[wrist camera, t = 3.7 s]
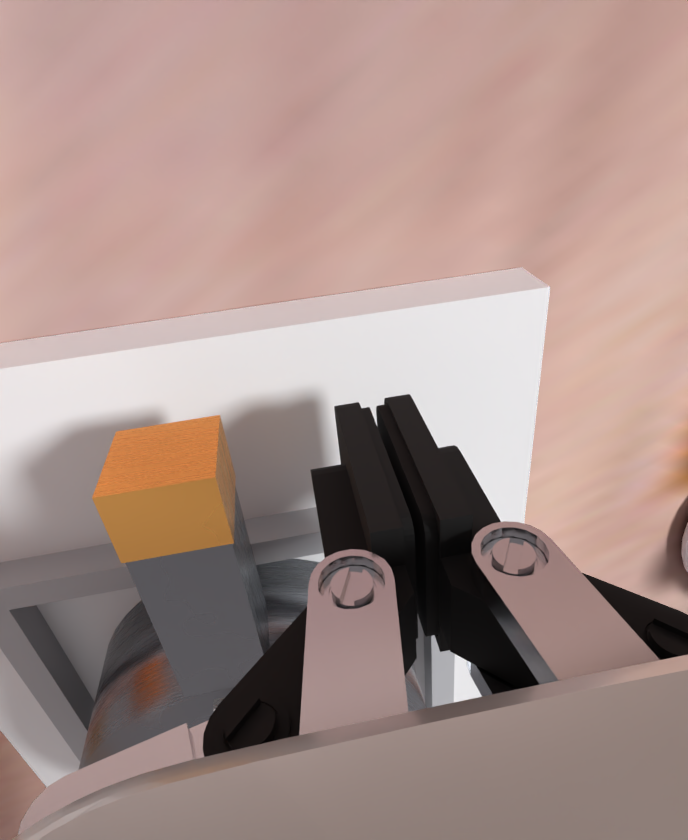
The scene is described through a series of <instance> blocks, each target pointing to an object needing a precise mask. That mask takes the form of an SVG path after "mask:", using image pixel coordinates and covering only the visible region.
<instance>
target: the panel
mask: <svg viewBox="0 0 688 840" xmlns="http://www.w3.org/2000/svg"><path fill="white" fill-rule="evenodd" d="M549 294H550V286H548V285H547V284H545V283H544V282H542V281H541V280H540V279H538V278H537V277H535V276H534V275H532V274H531V273H529V272H528V271H526V270H525V269H524V268H522V267H520V268H513V269H506V270H500V271H493V272H486V273H479V274H472V275H465V276H458V277H451V278H445V279H438V280H431V281H424V282H417V283H410V284H403V285H397V286H390V287H383V288H376V289H369V290H362V291H355V292H348V293H342V294H335V295H328V296H321V297H314V298H307V299H300V300H293V301H287V302H280V303H273V304H266V305H259V306H252V307H245V308H239V309H232V310H225V311H218V312H211V313H204V314H197V315H190V316H184V317H177V318H170V319H163V320H156V321H149V322H142V323H135V324H129V325H122V326H115V327H108V328H101V329H94V330H87V331H81V332H74V333H67V334H60V335H53V336H46V337H39V338H32V339H26V340H19V341H12V342H5V343H0V730H1V732H2V733H3V734H4V735H5V737H6V738H7V739H8V740H9V741H10V743H11V744H12V745H13V746H14V748H15V749H16V750H17V751H18V753H19V754H20V755H21V756H22V758H23V759H24V760H25V761H26V763H27V764H28V765H29V766H30V767H31V769H32V770H33V771H34V772H35V774H36V775H37V776H38V777H39V779H40V780H41V781H42V782H43V784H44V785H45V786H46V787H48V786H49V785H51V784H53V783H54V782H56V781H57V780H59V779H61V778H62V777H64V776H66V775H68V774H70V773H73V772H75V771H77V770H79V765H80V761H81V757H82V753H83V749H84V745H85V740H86V736H87V732H88V728H89V724H90V719H91V715H92V711H93V707H94V703H95V699H96V694H97V690H98V686H99V682H100V678H101V674H102V669H103V665H104V661H105V657H106V653H107V649H108V645H109V642H110V639H111V637H112V635H113V633H114V631H115V629H116V628H117V626H118V625H119V623H120V622H121V621H122V619H123V618H124V617H125V615H126V614H127V613H128V612H129V611H130V610H131V609H132V608H133V607H134V606H135V605H136V604H137V603H139V602H140V601H141V600H142V599H141V597H140V595H139V593H138V590H137V588H136V586H135V584H134V581H133V579H132V577H131V575H130V572H129V570H128V568H127V566H126V563H121V562H120V560H119V557H118V555H117V553H116V551H115V548H114V546H113V544H112V542H111V539H110V537H109V535H108V533H107V531H106V528H105V526H104V524H103V522H102V519H101V517H100V515H99V513H98V511H97V508H96V506H95V504H94V502H93V499H92V497H93V494H94V491H95V488H96V485H97V483H98V480H99V477H100V474H101V472H102V469H103V466H104V463H105V461H106V458H107V455H108V452H109V450H110V447H111V444H112V441H113V438H114V436H115V433H116V431H122V430H128V429H135V428H141V427H147V426H153V425H160V424H166V423H172V422H178V421H185V420H191V419H197V418H203V417H210V416H216V415H220V417H221V421H222V425H223V429H224V433H225V437H226V440H227V444H228V448H229V452H230V456H231V460H232V464H233V468H234V472H235V476H236V479H235V486H236V490H237V494H238V498H239V502H240V505H241V509H242V513H243V517H244V521H245V525H246V528H247V532H248V536H249V540H250V544H251V548H252V552H253V555H254V559H255V563H256V565H259V564H265V563H270V562H276V561H281V560H287V559H292V558H293V559H303V560H309V561H315V562H321V561H322V560H323V559H325V557H324V551H323V545H322V539H321V533H320V527H319V521H318V515H317V509H316V502H315V496H314V490H313V484H312V477H311V471H310V470H311V469H317V468H322V467H328V466H334V465H340V464H341V461H340V453H339V444H338V436H337V428H336V420H335V411H334V406H338V405H344V404H350V403H356V402H359V404H360V406H361V408H366V407H370V409H371V412H372V415H373V417H374V420H375V422H376V425H377V416H376V406H379V405H384V399H385V398H388V397H394V396H400V395H406V394H410V395H411V397H412V399H413V401H414V402H415V404H416V406H417V408H418V410H419V412H420V414H421V416H422V418H423V420H424V422H425V424H426V425H427V427H428V429H429V431H430V433H431V435H432V437H433V439H434V441H435V443H436V445H437V446H438V448H441V447H446V446H452V445H455V446H457V447H458V449H459V450H460V451H461V453H462V455H463V457H464V458H465V460H466V462H467V464H468V465H469V467H470V469H471V470H472V472H473V474H474V476H475V477H476V479H477V481H478V483H479V484H480V486H481V488H482V490H483V491H484V493H485V495H486V496H487V498H488V500H489V502H490V503H491V505H492V507H493V509H494V510H495V512H496V514H497V516H498V517H499V519H500V521H501V522H503V521H508V522H519V523H523V524H524V519H525V510H526V501H527V492H528V483H529V474H530V465H531V456H532V447H533V438H534V429H535V420H536V411H537V402H538V393H539V384H540V375H541V366H542V357H543V348H544V339H545V330H546V321H547V312H548V303H549ZM417 615H418V613H417ZM416 653H417V659H416V660H415V662H414V663H413V664H414V667H415V671H416V674H417V677H418V681H419V684H420V688H421V691H422V695H423V698H424V702H425V705H426V708H430V707H435V706H440V705H444V704H449V703H454V702H459V701H464V700H468V699H473V698H478V697H482V695H481V694H480V692H479V690H478V688H477V686H476V685H475V683H474V681H473V679H472V677H471V676H470V673H469V670H468V668H467V660H465V659H463V658H461V657H460V656H458V655H456V654H454V653H452V652H450V650H448V651H443V652H440V650H439V647H438V644H437V641H436V638H435V635H433V636H428V637H426V636H425V634H424V632H423V629H422V626H421V623H420V620H419V616H418V639H416Z"/></svg>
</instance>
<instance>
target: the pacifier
mask: <svg viewBox="0 0 688 840" xmlns="http://www.w3.org/2000/svg"><path fill="white" fill-rule="evenodd" d="M681 555H682V559H683V564H684V567H685V569H686V571H687V572H688V522H687V525H686V529H685V532H684V535H683V538H682V550H681Z"/></svg>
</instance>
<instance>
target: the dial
mask: <svg viewBox="0 0 688 840" xmlns="http://www.w3.org/2000/svg"><path fill="white" fill-rule="evenodd" d="M235 479H236V476H235V472H234V468H233V464H232V460H231V456H230V452H229V448H228V444H227V440H226V437H225V433H224V429H223V425H222V421H221V417H220V415H216V416H210V417H203V418H197V419H191V420H185V421H178V422H172V423H166V424H160V425H153V426H147V427H141V428H135V429H128V430H122V431H116V433H115V436H114V438H113V441H112V444H111V447H110V450H109V452H108V455H107V458H106V461H105V463H104V466H103V469H102V472H101V474H100V477H99V480H98V483H97V485H96V488H95V491H94V494H93V497H92V499H93V502H94V504H95V506H96V508H97V511H98V513H99V515H100V517H101V519H102V522H103V524H104V526H105V528H106V531H107V533H108V535H109V537H110V539H111V542H112V544H113V546H114V548H115V551H116V553H117V555H118V557H119V560H120V562H121V563H126V566H127V568H128V570H129V572H130V575H131V577H132V579H133V581H134V584H135V586H136V588H137V590H138V593H139V595H140V597H141V599H142V600H141V601H140V602H139V603H137V604H136V605H135V606H134V607H133V608H132V609H131V610H130V611H129V612H128V613H127V614H126V615H125V617H124V618H123V619H122V621H121V622H120V623H119V625H118V626H117V628H116V629H115V631H114V633H113V635H112V637H111V639H110V642H109V645H108V649H107V653H106V657H105V661H104V665H103V669H102V674H101V678H100V682H99V686H98V690H97V694H96V699H95V703H94V707H93V711H92V715H91V719H90V724H89V728H88V732H87V736H86V740H85V745H84V749H83V753H82V757H81V761H80V765H79V769H82V768H84V767H86V766H89V765H91V764H93V763H95V762H98V761H100V760H102V759H105V758H107V757H109V756H112V755H114V754H116V753H118V752H121V751H123V750H125V749H128V748H130V747H132V746H134V745H137V744H139V743H141V742H144V741H146V740H148V739H151V738H153V737H155V736H157V735H160V734H162V733H164V732H167V731H169V730H171V729H173V728H176V727H178V726H180V725H183V724H185V723H187V725H188V727H189V729H190V728H192V727H194V726H197V725H199V724H201V723H203V722H206V721H208V720H209V718H210V716H211V715H212V713H213V712H214V711H215V709H216V708H217V706H218V705H219V704H220V703H221V701H222V700H223V699H224V698H225V697H226V696H227V695H228V694H229V693H230V691H231V690H232V689H233V688H234V687H235V686H236V685H237V684H238V683H239V681H240V680H241V679H242V678H243V677H244V676H245V675H246V674H247V672H248V671H249V670H250V669H251V668H252V667H253V666H254V665H255V664H256V662H257V661H258V660H259V659H260V658H261V657H262V656H263V655H264V654H265V652H266V651H267V650H268V649H269V648H270V647H271V646H272V645H273V644H274V642H275V641H276V640H277V639H278V638H279V637H280V636H281V635H282V634H283V632H284V631H285V630H286V629H287V628H288V627H289V626H290V625H291V624H292V622H293V621H294V620H295V619H296V618H297V617H298V616H299V615H300V614H301V612H302V611H303V610H304V609H305V608H306V607H307V602H308V586H309V581H310V577H311V573H312V572H313V570H314V569H315V567H316V566H317V564H318V563H320V562H315V561H309V560H303V559H293V558H292V559H287V560H281V561H276V562H270V563H265V564H259V565H256V563H255V559H254V555H253V552H252V548H251V544H250V540H249V536H248V532H247V528H246V525H245V521H244V517H243V513H242V509H241V505H240V502H239V498H238V494H237V490H236V486H235ZM405 684H406V694H407V703H408V712H411V711H416V710H421V709H425V708H426V705H425V702H424V698H423V695H422V691H421V688H420V684H419V681H418V677H417V674H416V671H415V667H414V664H413V665H412V666H411V668H410V669H409V671H408V672H407V674H406V675H405Z"/></svg>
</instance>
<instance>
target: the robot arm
mask: <svg viewBox="0 0 688 840" xmlns="http://www.w3.org/2000/svg"><path fill="white" fill-rule="evenodd" d="M334 411H335V420H336V428H337V436H338V444H339V453H340V461H341V464H340V465H334V466H328V467H322V468H317V469H311V470H310V471H311V477H312V484H313V490H314V496H315V502H316V509H317V515H318V521H319V527H320V533H321V539H322V545H323V551H324V557H325V559H323V560H322V561H321V562H320V563H318V564H317V566H316V567H315V569H314V570H313V572H312V573H311V577H310V581H309V586H308V602H307V607H306V608H305V609H304V610H303V611H302V612H301V614H300V615H299V616H298V617H297V618H296V619H295V620H294V621H293V622H292V624H291V625H290V626H289V627H288V628H287V629H286V630H285V631H284V632H283V634H282V635H281V636H280V637H279V638H278V639H277V640H276V641H275V642H274V644H273V645H272V646H271V647H270V648H269V649H268V650H267V651H266V652H265V654H264V655H263V656H262V657H261V658H260V659H259V660H258V661H257V662H256V664H255V665H254V666H253V667H252V668H251V669H250V670H249V671H248V672H247V674H246V675H245V676H244V677H243V678H242V679H241V680H240V681H239V683H238V684H237V685H236V686H235V687H234V688H233V689H232V690H231V691H230V693H229V694H228V695H227V696H226V697H225V698H224V699H223V700H222V701H221V703H220V704H219V705H218V706H217V708H216V709H215V711H214V712H213V713H212V715H211V716H210V718H209V720H208V721H206V722H203V723H201V724H199V725H197V726H194V727H192V728H190V729H189V727H188V725H187V723H185V724H183V725H180V726H178V727H176V728H173V729H171V730H169V731H167V732H164V733H162V734H160V735H157V736H155V737H153V738H151V739H148V740H146V741H144V742H141V743H139V744H137V745H134V746H132V747H130V748H128V749H125V750H123V751H121V752H118V753H116V754H114V755H112V756H109V757H107V758H105V759H102V760H100V761H98V762H95V763H93V764H91V765H89V766H86V767H84V768H82V769H79V770H77V771H75V772H73V773H70V774H68V775H66V776H64V777H62V778H61V779H59V780H57V781H56V782H54V783H53V784H51V785H49V786H48V787H47V788H46V789H45V790H44V791H43V792H42V793H41V794H40V795H39V796H38V797H37V798H36V799H35V800H34V801H33V802H32V804H31V806H30V807H29V809H28V811H27V812H26V814H25V816H24V818H23V819H22V821H21V824H20V828H19V832H18V836H16V837H15V838H13V839H12V840H688V615H687V614H685V613H683V612H681V611H678V610H676V609H673V608H671V607H668V606H665V605H663V604H660V603H658V602H655V601H653V600H650V599H648V598H645V597H642V596H640V595H637V594H635V593H632V592H630V591H627V590H625V589H622V588H619V587H617V586H614V585H612V584H609V583H607V582H604V581H602V580H599V579H597V578H594V577H591V576H589V575H586V574H584V573H581V572H580V571H579V569H578V568H577V567H576V566H575V565H574V564H573V563H572V562H571V561H570V559H569V558H568V557H567V556H566V555H565V554H564V553H563V552H562V551H561V549H560V548H559V547H558V546H557V545H556V544H555V543H554V542H553V541H552V539H551V538H549V537H548V536H547V535H546V534H545V533H543V532H542V531H541V530H539V529H537V528H535V527H533V526H531V525H527V524H523V523H519V522H508V521H503V522H501V521H500V519H499V517H498V516H497V514H496V512H495V510H494V509H493V507H492V505H491V503H490V502H489V500H488V498H487V496H486V495H485V493H484V491H483V490H482V488H481V486H480V484H479V483H478V481H477V479H476V477H475V476H474V474H473V472H472V470H471V469H470V467H469V465H468V464H467V462H466V460H465V458H464V457H463V455H462V453H461V451H460V450H459V449H458V447H457V446H455V445H452V446H446V447H441V448H438V446H437V445H436V443H435V441H434V439H433V437H432V435H431V433H430V431H429V429H428V427H427V425H426V424H425V422H424V420H423V418H422V416H421V414H420V412H419V410H418V408H417V406H416V404H415V402H414V401H413V399H412V397H411V395H410V394H406V395H400V396H394V397H388V398H385V399H384V405H379V406H376V416H377V425H376V422H375V420H374V417H373V415H372V412H371V409H370V407H366V408H361V406H360V404H359V402H356V403H350V404H344V405H338V406H334ZM417 613H418V615H417ZM418 616H419V620H420V623H421V626H422V629H423V632H424V634H425V636H426V637H428V636H433V635H435V638H436V641H437V644H438V647H439V650H440V652H443V651H448V650H450V652H452V653H454V654H456V655H458V656H460V657H461V658H463V659H465V660H467V668H468V670H469V673H470V676H471V677H472V679H473V681H474V683H475V685H476V686H477V688H478V690H479V692H480V694H481V695H482V697H478V698H473V699H468V700H464V701H459V702H454V703H449V704H444V705H440V706H435V707H430V708H425V709H421V710H416V711H411V712H408V703H407V694H406V684H405V675H406V674H407V672H408V671H409V669H410V668H411V666H412V665H413V663H414V662H415V660H416V659H417V653H416V639H418Z"/></svg>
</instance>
